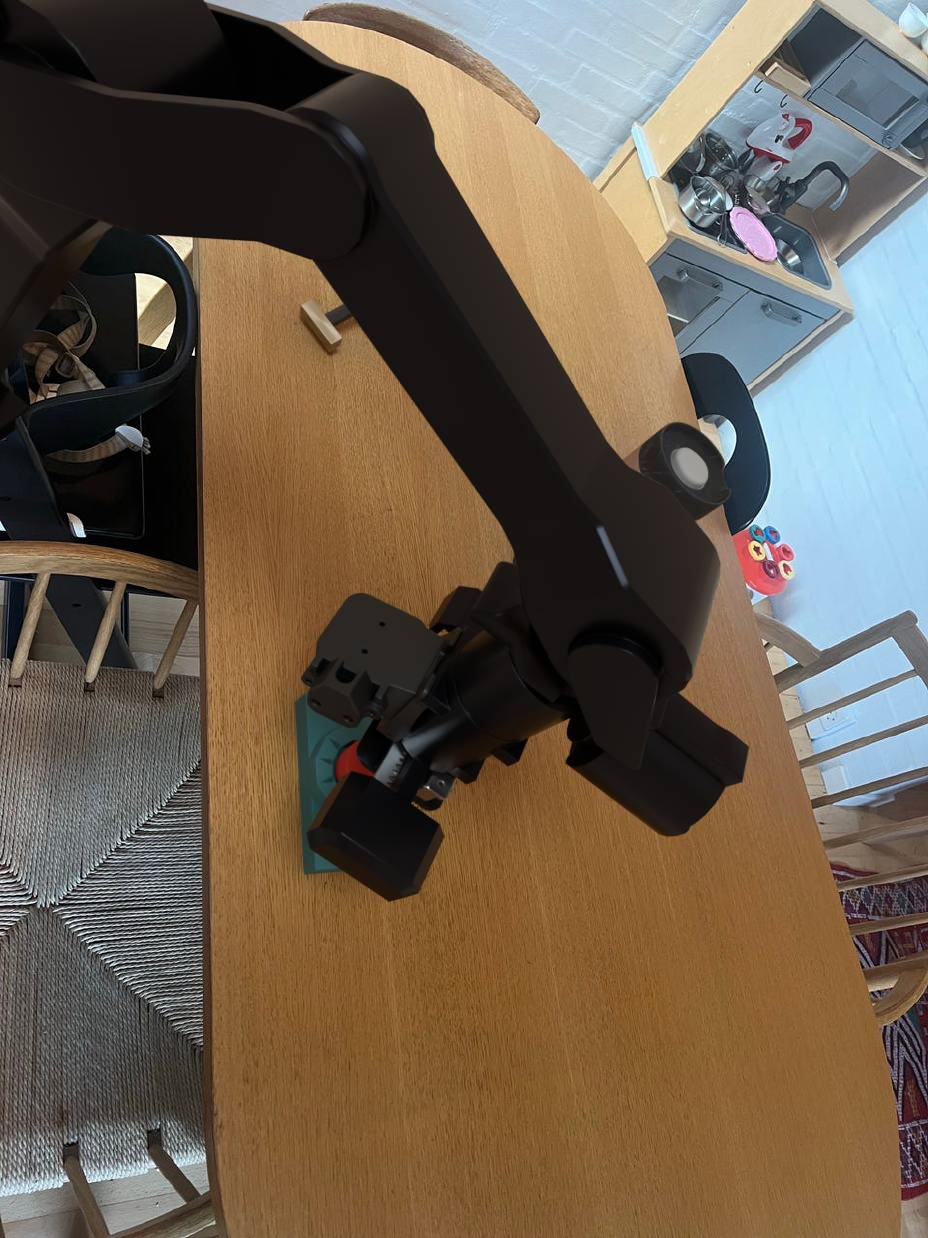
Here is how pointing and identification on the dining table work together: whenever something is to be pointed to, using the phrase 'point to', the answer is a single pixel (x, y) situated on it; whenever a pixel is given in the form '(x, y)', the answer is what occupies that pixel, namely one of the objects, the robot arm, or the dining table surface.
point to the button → (350, 763)
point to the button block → (319, 769)
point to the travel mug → (683, 467)
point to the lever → (325, 322)
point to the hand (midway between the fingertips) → (372, 763)
